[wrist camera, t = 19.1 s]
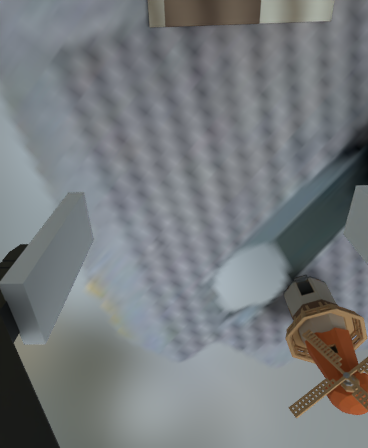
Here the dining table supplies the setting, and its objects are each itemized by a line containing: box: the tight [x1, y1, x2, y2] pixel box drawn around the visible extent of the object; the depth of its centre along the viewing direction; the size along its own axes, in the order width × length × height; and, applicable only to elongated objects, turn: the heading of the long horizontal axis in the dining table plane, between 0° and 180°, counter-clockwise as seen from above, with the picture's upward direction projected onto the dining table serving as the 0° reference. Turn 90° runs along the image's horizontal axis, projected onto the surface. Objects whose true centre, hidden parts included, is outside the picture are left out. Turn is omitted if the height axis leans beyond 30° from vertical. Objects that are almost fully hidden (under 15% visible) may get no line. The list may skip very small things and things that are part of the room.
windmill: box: [284, 275, 368, 418], centre depth 51 cm, size 17×14×30 cm
